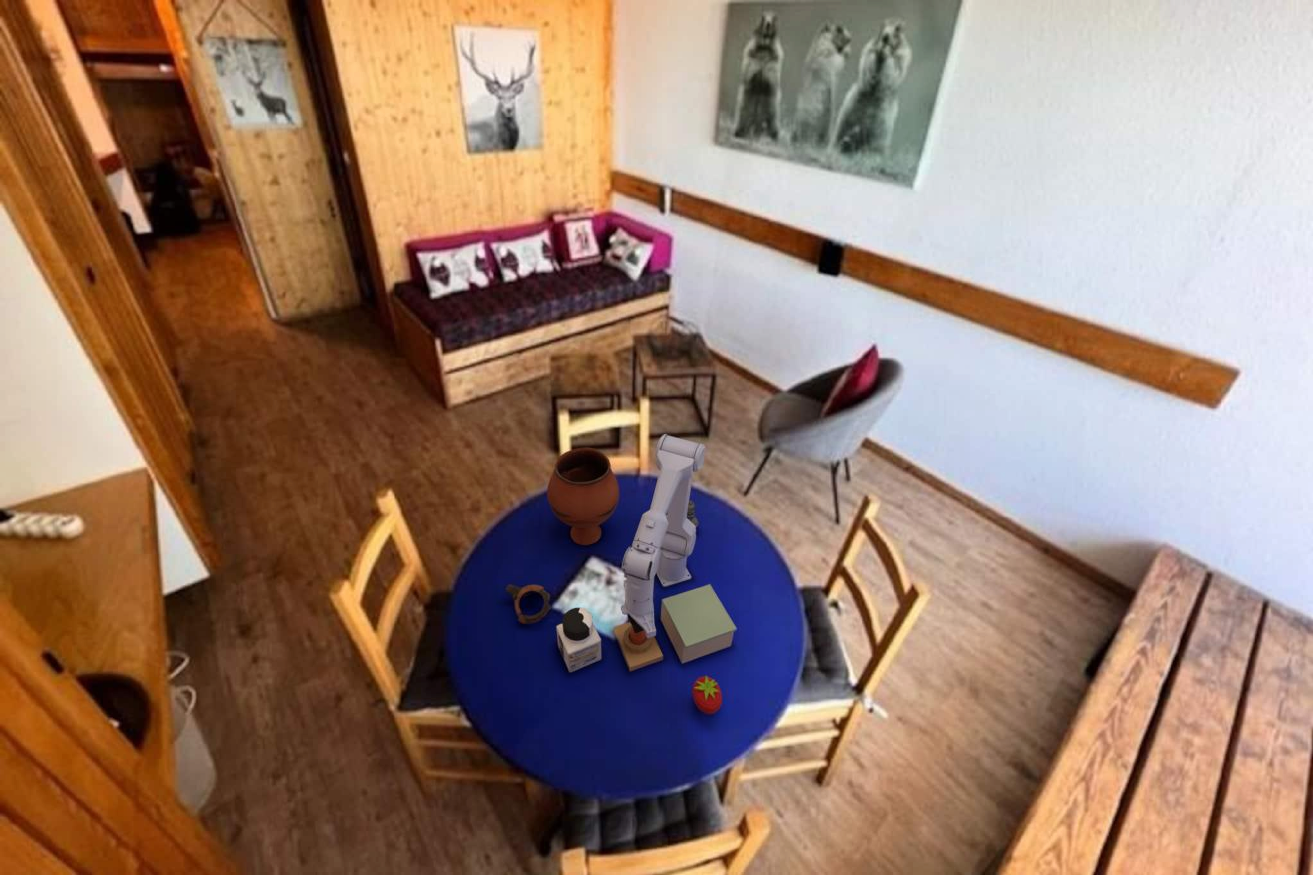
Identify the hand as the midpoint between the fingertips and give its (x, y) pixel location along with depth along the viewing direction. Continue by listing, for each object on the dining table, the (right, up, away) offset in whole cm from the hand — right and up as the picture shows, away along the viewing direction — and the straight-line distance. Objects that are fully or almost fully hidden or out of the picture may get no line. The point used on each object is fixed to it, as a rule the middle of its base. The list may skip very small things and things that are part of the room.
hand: (638, 629), depth 129 cm
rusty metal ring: (-27, +2, +11) cm, 29 cm away
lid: (+14, +2, +3) cm, 14 cm away
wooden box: (+13, -3, +7) cm, 15 cm away
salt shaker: (+13, +17, +33) cm, 39 cm away
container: (-13, -6, +2) cm, 15 cm away
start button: (0, -2, +2) cm, 3 cm away
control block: (0, -5, +4) cm, 6 cm away
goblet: (-16, +16, +31) cm, 39 cm away
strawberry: (+14, -14, -7) cm, 22 cm away
